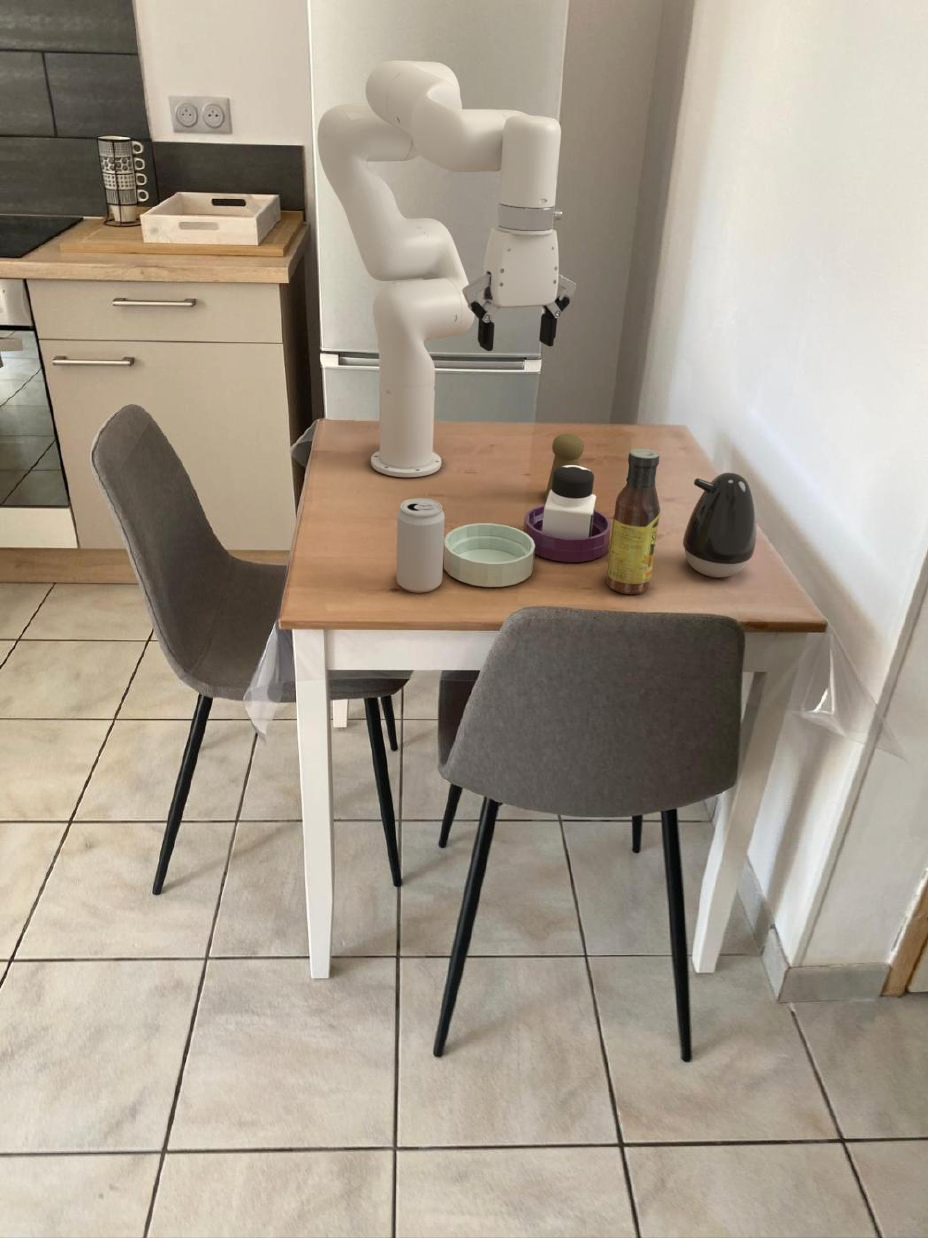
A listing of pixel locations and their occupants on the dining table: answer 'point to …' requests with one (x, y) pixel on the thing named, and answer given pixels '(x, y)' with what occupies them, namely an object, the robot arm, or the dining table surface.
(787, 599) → the dining table surface
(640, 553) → the sauce bottle
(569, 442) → the olive chess pawn
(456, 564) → the pale bowl
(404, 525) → the beverage can
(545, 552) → the plum bowl
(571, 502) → the medicine bottle
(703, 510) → the pump dispenser
